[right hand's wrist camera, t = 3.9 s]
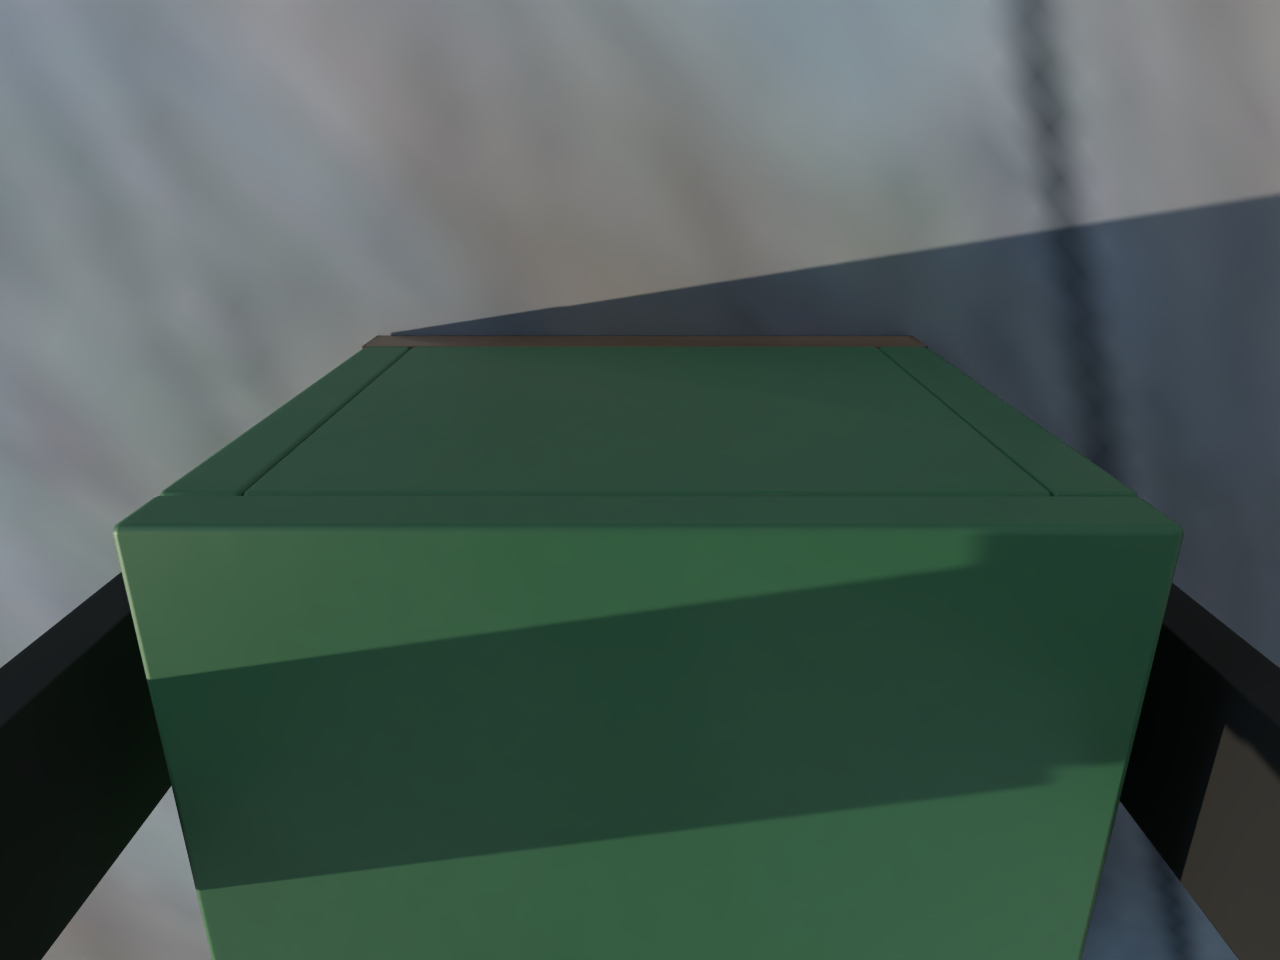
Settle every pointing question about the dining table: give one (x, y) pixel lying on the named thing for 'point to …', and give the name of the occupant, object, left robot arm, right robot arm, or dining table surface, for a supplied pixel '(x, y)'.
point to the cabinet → (647, 657)
